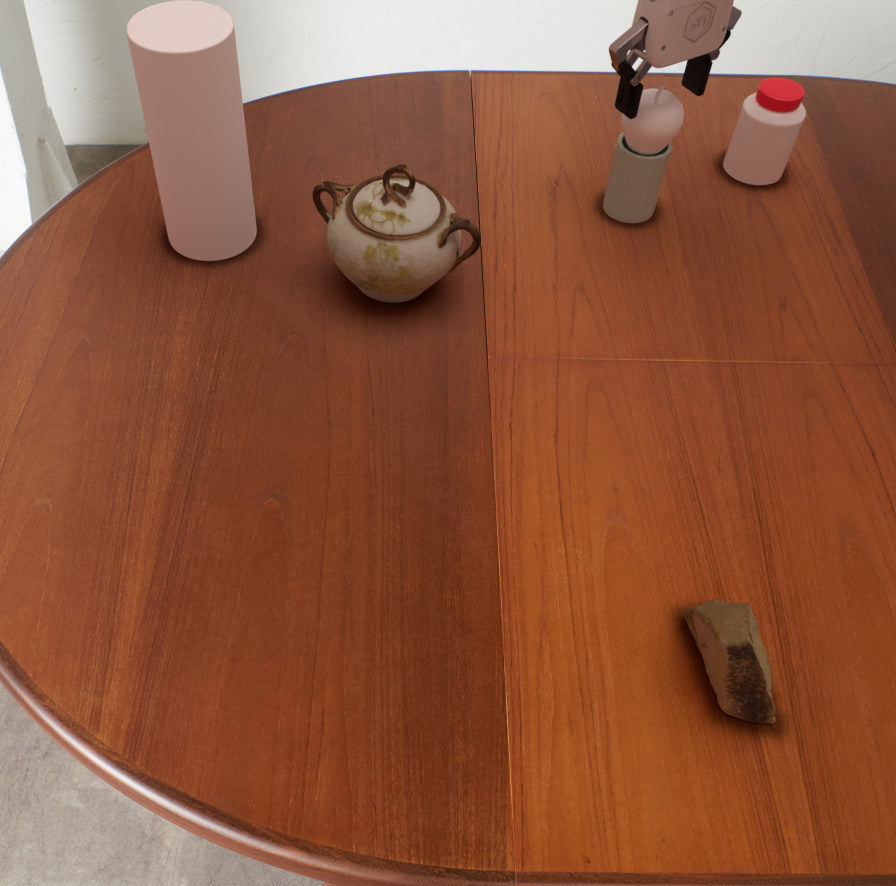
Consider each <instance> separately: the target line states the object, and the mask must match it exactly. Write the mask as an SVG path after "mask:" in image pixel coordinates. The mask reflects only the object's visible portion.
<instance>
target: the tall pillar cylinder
mask: <svg viewBox="0 0 896 886" xmlns="http://www.w3.org/2000/svg"><path fill="white" fill-rule="evenodd" d="M125 32H126V37H127V41H128V46H129V51H130V57H131V62H132V65H133V71H134V76H135V81H136V86H137V90H138V91H137V92H138V95H139V101H140V106H141V111H142V115H143V121H144V125H145V130H146V135H147V139H148V146H149V150H150V155H151V160H152V165H153V170H154V175H155V179H156V184H157V188H158V194H159V198H160V204H161V209H162V213H163V219H164V223H165V228H166V234H167V238H168V242H169V244H170V246H171V247H172V248H173V249H174V250H175V251H176V252H177V253H178V254H180V255H181V256H183V257H186V258H187V259H191V260H195V261H201V262H202V261H203V262H215V261H223V260H227V259H230V258H233V257H236V256H238V255H240V254H242V253H243V252H245V251H246V250H247V249H248V248H250V247H251V246H252V245H253V243H254V242H255V240H256V238H257V233H258V228H257V227H258V226H257V220H256V219H257V217H256V210H255V201H254V199H255V198H254V193H253V192H254V191H253V184H252V182H253V181H252V174H251V165H250V155H249V147H248V138H247V129H246V128H247V127H246V119H245V111H244V102H243V101H244V100H243V93H242V84H241V76H240V65H239V58H238V57H239V56H238V48H237V40H236V39H237V38H236V30H235V23H234V19H233V17H232V15H231V14H230V13H229V12H228V11H226V10H225V9H224V8H222V7H221V6H218V5H216V4H214V3H209V2H206V1H200V0H170V1H169V0H168V1H164V2H159V3H156V4H152V5H150V6H146V7H145V8H143V9H141V10H139V11H138V12H136V13H135V14H134V15H132V17H131V18H130V19H129V21H128V22H127V25H126V30H125Z"/></svg>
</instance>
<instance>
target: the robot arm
mask: <svg viewBox="0 0 896 886" xmlns="http://www.w3.org/2000/svg"><path fill="white" fill-rule="evenodd" d="M734 2H735V0H638V1H637V4H636V6H635V7H636V8H635V11H634V15H633V20H632V24H631V27H629V28H628V29H627V30H626V31H624V32H623V33H622V34H621V35H620V36H619V37H617V39H615V40H614V41H613V42H612V43H610V45H609V46H608V53H609V58H610V62H611V64H610V65H611V68H612V69H613V70H614V71H615V73H616V75H617V76H618V77H620V78H619V82H618V88H617V91H616V92H617V93H616V97H615V101H614V108H615V109H616V110H617V111H619V112H620V113H621V115H622V114H624V115H625V116H626V117H628V118H629V119H634V118H636V116H637V113H638V109H639V104H640V100H641V96H642V91H643V90H644V84H643V83H642V80H643V79H644V78H645V76H646V75H647V74H648V72H649V71H650V70H651V68H652V67H653V68H654V69H664V68H666V67H670V66H674V65H677V64H680V63H682V62H683V63H684V62H685V61H686V64H685V68H684V70H683V71H684V72H683V75H682V78H681V86H682V87H684V88H685V89H686V90H688V91H689V92H690V93H692V94H693V95H695V96H696V97H701V96H703V95H704V94H705V91H706V87H707V85H708V82H709V81H708V80H709V77H710V73H711V71H712V66H713V63H714V62H715V61H716V60H717V59H718V58H719V56H720V55H721V48H722V47H724V45H725V44H726V42H727V41H728V40H729V39H730V37H731V35H732V30H734V28H735V26H736V25H737V23H738V21H739V20H740V18H741V17H742V14H743V12H742V10H740V9H739V8H737V7H736V6H734ZM639 58H640V59H641V60H642V61H641V62H640V64H639V65H638V66H637V68H636V69H635V68H634V67H633V66H634V65H635V63H636V62H637V61H638V59H639ZM713 61H714V62H713Z"/></svg>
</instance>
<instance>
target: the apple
mask: <svg viewBox="0 0 896 886" xmlns="http://www.w3.org/2000/svg"><path fill="white" fill-rule="evenodd" d="M665 87H666V84H665V83H662V84H661V85H660V87H659V88H653V87H651V88H646V89H643V91H642V96H641V100H640V104H639V109H638V113H637V116H636V118H634V119H629V118H628V117H626V116H625V115H624V114H622V113H621V120H620V121H621V127H622V131H623V132H624V135H625V139H626V142H627V145H628V146H629V148H630V149H631V150H633V151H634V152H636V153H638V154H641V155H654V154H657V153H658V152H660V151H661V150H662V149H664V148H665V147H666V146H667V145H668V143H669V142H670V141H671V142H672V140H673V139H674V138H675V137H676V136H677V134H678V133H679V132H680V130H681V128H682V126H683V124H684V119H685V111H684V105H683V103H682V102H681V100H680V99H679V98H678V97H677V96H676V95H675V94H674V93H672V92H671V91H669V90H667V89H665Z"/></svg>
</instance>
